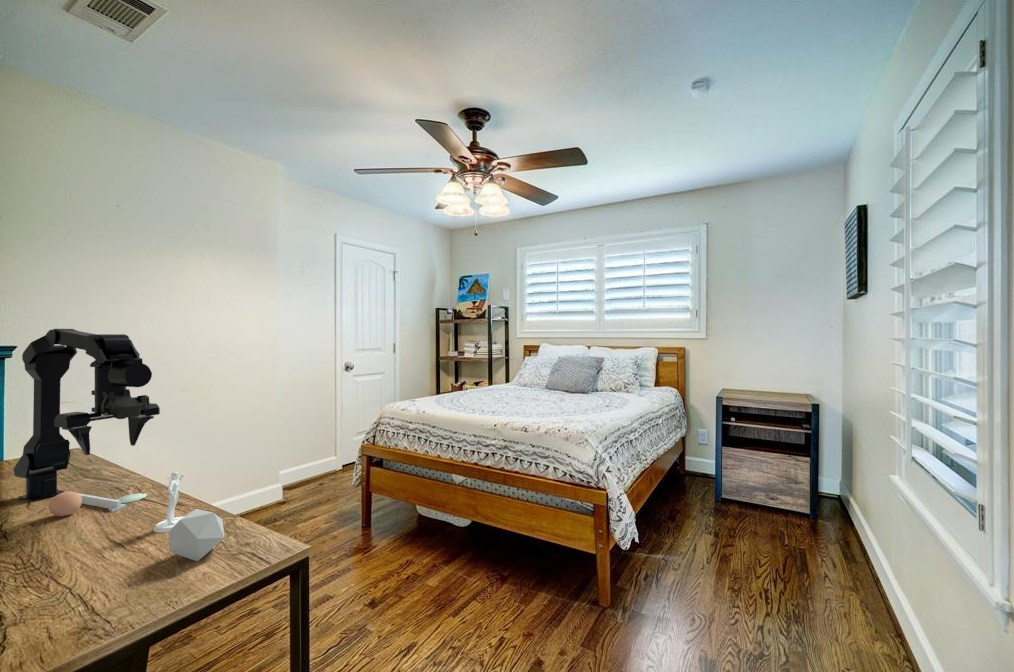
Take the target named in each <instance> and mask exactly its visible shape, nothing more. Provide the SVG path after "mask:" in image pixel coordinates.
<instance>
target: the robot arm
mask: <svg viewBox="0 0 1014 672" xmlns="http://www.w3.org/2000/svg"><path fill="white" fill-rule="evenodd" d="M77 349H78V350H84V351H85V354H86V355H88V356H89V357H91V358H93V359H94V361H92V362H91V363H90V364H89V367H90V368H94V390H91V395H92V396H94V407H91V412H90V413H89V412H86V411H85V412H83V411H72V412H64V413H61V379H62V378H63V377H64V375H65V374H66V373H67V372H68V371H69V369H70V366H71V361H72V359H73V358H74V357H75V356H76V355H77V353H78V351H77ZM140 355H141V354H140V352H139V351H138V350H137V348H136V347H135V346H134V343H133V341H132V340H131V339H130V336H129V335H127V334H124V333H123V334H117V333H116V334H115V333H113V334H112V333H111V334H110V333H109V334H108V333H107V334H96V333H90V332H87V331H86V332H85V331H80V330H77V329H74V328H52V329H50V330H48V331H47V332H46V334H45V335H43V336H41V337H39V338H38V339H35V340H33V341H31V342H30V343H29V344H28V346H27V347H26V348H25V350H24V351H23V353H22V356H21V357H22V362H23V363H24V371H26V373H27V374H28V375H29V376H30V377H31V378H32V379H33V409H32V410H33V411H32V412H33V413H32V414H33V417H32V418H33V419H32V425H33V426H32V436H30V438H29V440H27V442H26V443H25V445H23V449H22V455H21V456H20V458H19V460H18V461H17V462H16V464H15V466H14V467H13V473H14V477H16V478H21V479H25V494H24V495H20V496H18V499H19V500H24V501H31V502H36V501H38V500H43V499H47V498H50V497H55V496H56V495H58V494H60V493H63V492H65V490H61V489H58V471H61V470H67V469H68V467H69V466H68V465H69V461H70V457H71V455H72V454H71V450H70V443H71V442H70V440H69V439H66V438H65V437H64V436H63V435H62V434H61V432H60V431H61V430H60V429H62V430H65V431H67V432H69V433H70V434H71V436H72V437H73V438H74V439H75V440H76V443H77V444H78V446H79V448H80V449H81V450H82V452H83V454H84V455H85V456H89V455H90V454H91V453H90V452H91V442H90V441H91V439H90V432H91V429H92V427H93V426H91V425H88V424H89V423H91V422H93V421H95V422H96V421H102V420H107V419H112V418H113V419H117V420H125V419H127V420H128V421H127V424H128V436H129V443H130V446H132V447H134V446H136V443H137V442H138V439H139V437H140V434H141V432H142V431H143V428H144V426H145V425H146V423H147V422H148V421H150V420H151V419H154V418H155V416H157V415H160V414H161V413H160V412H161V411H160V410H161V408H160V406H159V405H158V404H157V403H153V402H150V397H149V396H148V395H147V394H145V395H144V394H143V395H138V396H133V397H132V396H131V391H130V389H129V388H142V387H144V386H146V385H147V384H149V383H150V381H151V380H152V376H153V372H152V370H151V368H150V367H149V366H148V365H147V364H146V363H143V358H141V357H140ZM127 387H128V388H127Z"/></svg>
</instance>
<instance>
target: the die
mask: <svg viewBox="0 0 1014 672" xmlns="http://www.w3.org/2000/svg"><path fill="white" fill-rule="evenodd" d="M224 530H225V529H224V522H223V519H222V518H221V517H220V516H218V514H216V513H215V512H212V511H209V510H203V509H200V508H196V509H194V510H192V511H190V512H189V513H188V514H186V515H185V517H183V518H182V519H180V520H179V521H178V522H177V523H176V524H175V526H174V527H173V528H172V529H171V530H170V531H169V532H168V533H169V535H168V552H170V553H173V554H175V555H177V556H179V557H183V558H185V559H188V560H191V561H195V562H199V561H200V560H201V559H203V557H205V556H206V555H207V554H208V553H209V552H211V551H212V550H213V549H214V548H216V546H217V545H218V544H219V543H220V542H221V541H223V540H224V539H225V531H224Z"/></svg>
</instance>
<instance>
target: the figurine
mask: <svg viewBox="0 0 1014 672" xmlns="http://www.w3.org/2000/svg"><path fill="white" fill-rule="evenodd" d="M183 477H186V474H185V473H181V474H180V475H179V471H174V472H172V473H171V476H170V477H169V478H167V480H170V481H169V484H168V489H167V492H168V496H167V497H168V498H167V499H168V505H167V509H166V519H164V520H162V521H160V522H158V523H157V524H156V525H155V526H154V528H153V532H155V533H160V534H161V533H169V531H170V530H171V529H172V528H173V527H174V526H175V524H176V523H177V522H178V521H179V520H180V519H182V518H183V517H185V516H186V515H185V516H182V515H181V516H176V517H175V508H176V506H177V503H178V500H179V498H180V495H179V487H180V481H181V480H183Z"/></svg>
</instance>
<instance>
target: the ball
mask: <svg viewBox="0 0 1014 672" xmlns="http://www.w3.org/2000/svg"><path fill="white" fill-rule="evenodd" d="M79 494H80V493H77V492H75V491H71V490H70V491H69V490H68V491H64V492H63V493H60V494H58V495H54V496H53V497H52V499H51V500H50V501H49V504H48V510H49V513H51V514H52V515H53V516H55V517H68V516H70V515H72V514H74V513H76V512H77V511H78V510H79V509H80V508H81V506H82V505H83V504H82V498H81V496H80V495H79Z"/></svg>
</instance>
